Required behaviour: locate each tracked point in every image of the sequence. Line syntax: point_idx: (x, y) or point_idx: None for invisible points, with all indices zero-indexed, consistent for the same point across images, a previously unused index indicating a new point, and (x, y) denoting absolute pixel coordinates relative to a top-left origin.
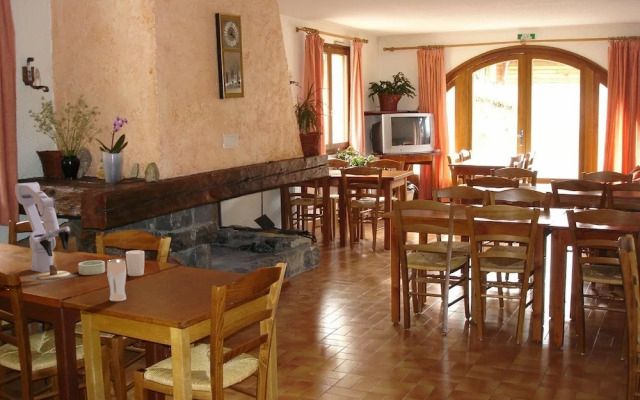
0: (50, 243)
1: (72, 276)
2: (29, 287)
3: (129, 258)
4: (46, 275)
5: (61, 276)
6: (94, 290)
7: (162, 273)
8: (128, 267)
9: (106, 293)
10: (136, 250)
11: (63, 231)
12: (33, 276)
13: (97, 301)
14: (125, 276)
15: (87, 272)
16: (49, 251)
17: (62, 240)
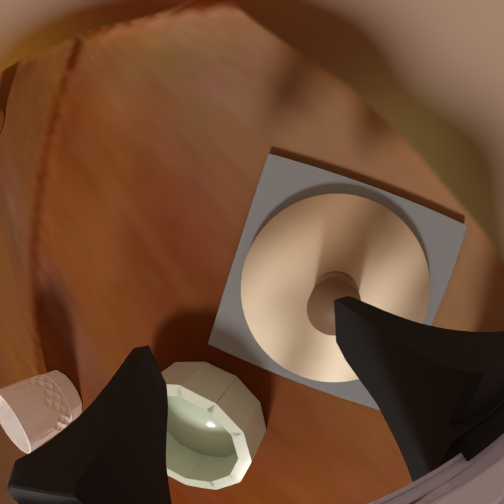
0: (410, 465)
1: (221, 312)
2: (298, 63)
3: (13, 389)
4: (361, 255)
5: (247, 259)
6: (45, 157)
7: None
8: (44, 383)
9: (18, 150)
10: (26, 451)
11: (11, 492)
12: (449, 248)
13: (17, 88)
14: None
15: (174, 369)
16: (357, 338)
17: (102, 405)
